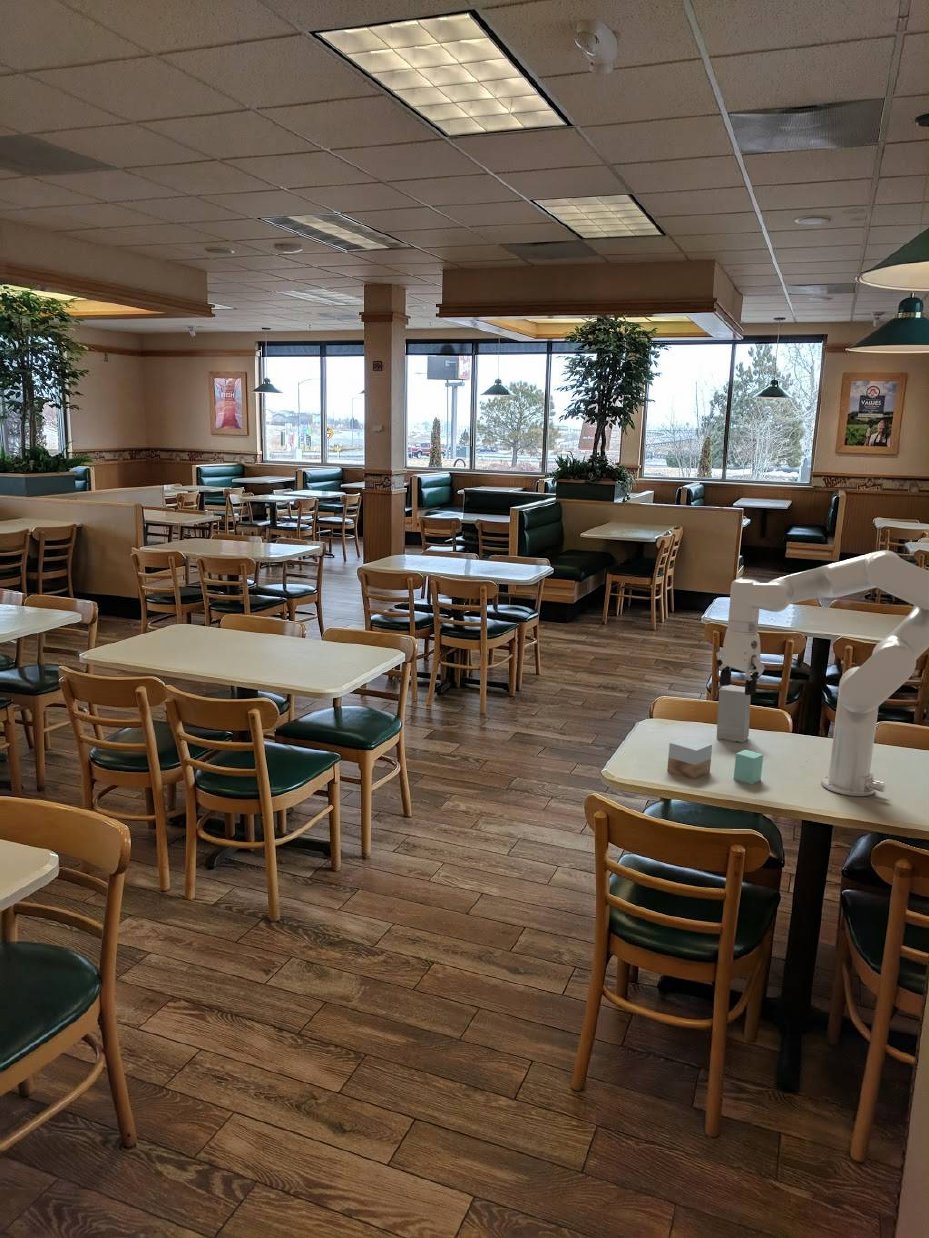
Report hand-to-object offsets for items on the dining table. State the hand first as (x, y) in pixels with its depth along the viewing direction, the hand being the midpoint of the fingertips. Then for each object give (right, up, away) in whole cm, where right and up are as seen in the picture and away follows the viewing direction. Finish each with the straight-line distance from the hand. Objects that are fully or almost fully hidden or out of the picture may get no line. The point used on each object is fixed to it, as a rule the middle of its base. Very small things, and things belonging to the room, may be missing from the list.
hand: (737, 689), depth 236 cm
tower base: (-13, -22, 0) cm, 26 cm away
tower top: (-13, -18, -1) cm, 22 cm away
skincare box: (+7, -17, +30) cm, 35 cm away
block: (+1, -23, -4) cm, 23 cm away
